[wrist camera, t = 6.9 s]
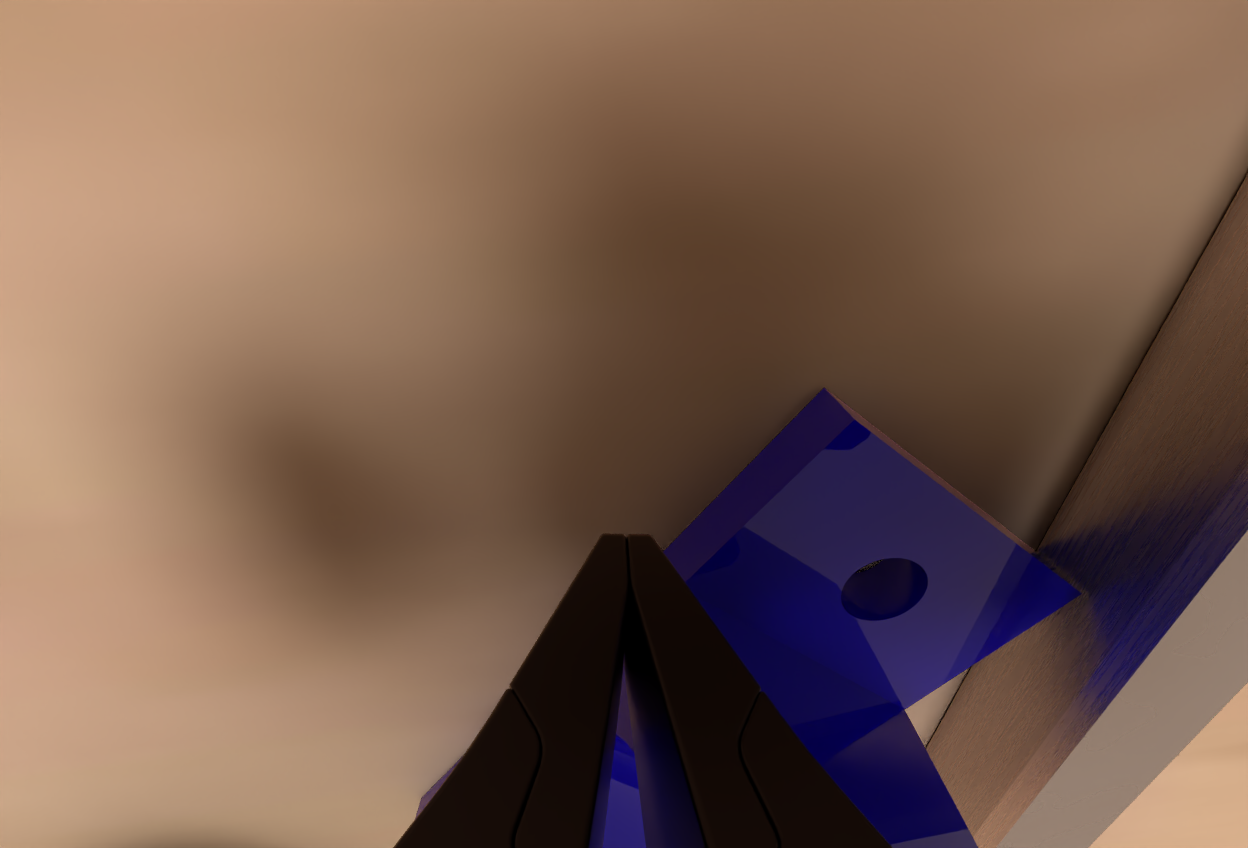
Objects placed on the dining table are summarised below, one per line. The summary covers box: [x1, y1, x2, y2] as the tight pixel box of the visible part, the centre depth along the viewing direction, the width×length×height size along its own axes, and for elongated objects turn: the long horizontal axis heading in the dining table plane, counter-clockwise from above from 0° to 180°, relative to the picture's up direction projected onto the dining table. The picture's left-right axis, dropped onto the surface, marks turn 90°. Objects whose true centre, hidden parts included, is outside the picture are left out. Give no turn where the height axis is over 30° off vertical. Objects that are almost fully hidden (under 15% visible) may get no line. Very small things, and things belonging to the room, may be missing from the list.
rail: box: [926, 174, 1248, 848], centre depth 10 cm, size 27×3×4 cm, turn 177°
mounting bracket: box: [415, 388, 1082, 848], centre depth 12 cm, size 18×7×6 cm, turn 144°
